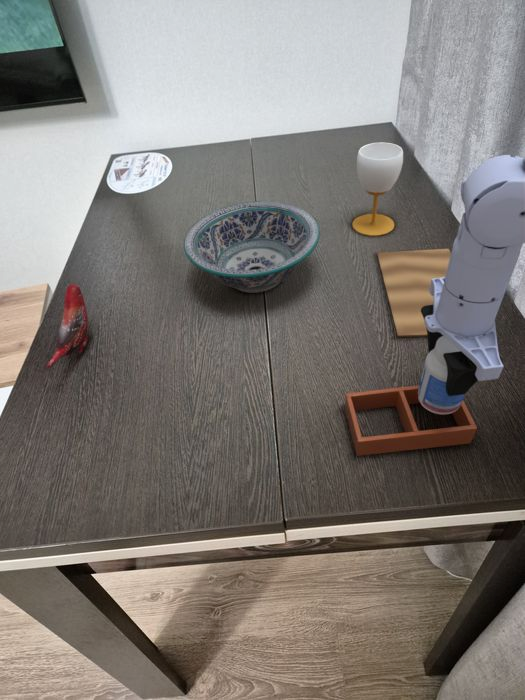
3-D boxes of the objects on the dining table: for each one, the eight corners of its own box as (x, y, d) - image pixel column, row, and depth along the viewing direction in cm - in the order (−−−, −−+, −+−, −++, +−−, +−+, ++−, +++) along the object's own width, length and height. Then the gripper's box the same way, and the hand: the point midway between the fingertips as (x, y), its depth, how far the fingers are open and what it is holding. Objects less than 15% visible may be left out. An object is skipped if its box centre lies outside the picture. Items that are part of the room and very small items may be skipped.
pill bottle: (469, 409, 55) (491, 357, 48) (430, 420, 55) (446, 369, 48) (446, 378, 59) (463, 325, 52) (409, 388, 59) (421, 336, 52)
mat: (486, 334, 71) (487, 332, 70) (397, 337, 72) (397, 335, 71) (448, 250, 87) (449, 248, 87) (376, 254, 88) (377, 252, 88)
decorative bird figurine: (103, 320, 82) (82, 276, 75) (71, 394, 70) (43, 351, 62) (88, 320, 82) (66, 277, 75) (54, 395, 70) (24, 352, 63)
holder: (448, 396, 63) (453, 381, 60) (470, 443, 57) (477, 428, 55) (344, 408, 63) (345, 393, 61) (356, 456, 58) (358, 441, 55)
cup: (355, 213, 100) (359, 141, 89) (395, 215, 98) (406, 141, 86) (349, 234, 94) (353, 160, 83) (392, 237, 92) (403, 161, 81)
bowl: (344, 287, 82) (347, 243, 75) (222, 336, 76) (213, 293, 69) (282, 229, 98) (279, 188, 91) (177, 265, 92) (166, 225, 85)
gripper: (411, 249, 49) (396, 336, 59) (463, 340, 39) (434, 426, 49) (474, 242, 49) (449, 330, 59) (542, 330, 39) (497, 419, 48)
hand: (446, 373), depth 54 cm, fingers closed on pill bottle, 5 cm apart
